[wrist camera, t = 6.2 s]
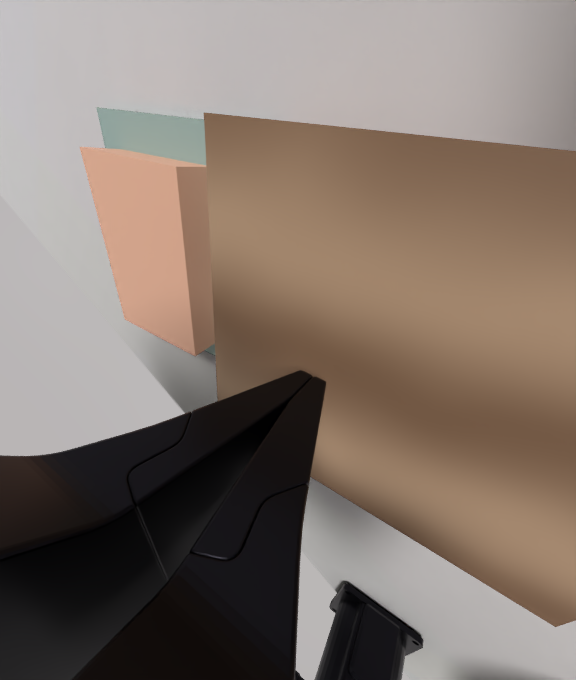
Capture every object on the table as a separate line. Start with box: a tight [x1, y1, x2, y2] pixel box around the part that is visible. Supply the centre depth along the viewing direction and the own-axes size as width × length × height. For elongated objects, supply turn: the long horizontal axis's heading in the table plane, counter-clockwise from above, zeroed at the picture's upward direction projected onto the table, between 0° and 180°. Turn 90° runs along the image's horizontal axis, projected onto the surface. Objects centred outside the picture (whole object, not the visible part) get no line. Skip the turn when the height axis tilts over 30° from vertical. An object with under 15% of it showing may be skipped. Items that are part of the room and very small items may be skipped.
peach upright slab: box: [80, 147, 215, 356], centre depth 15 cm, size 9×6×2 cm, turn 173°
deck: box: [204, 113, 576, 627], centre depth 9 cm, size 12×14×4 cm
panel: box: [97, 107, 215, 356], centre depth 15 cm, size 12×10×1 cm
